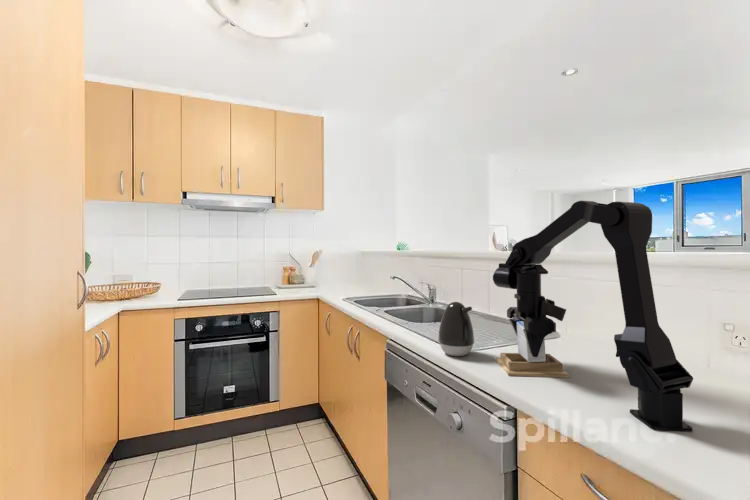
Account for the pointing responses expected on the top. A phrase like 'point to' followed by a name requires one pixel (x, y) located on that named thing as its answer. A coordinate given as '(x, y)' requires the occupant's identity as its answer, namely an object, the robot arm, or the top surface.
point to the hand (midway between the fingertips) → (529, 352)
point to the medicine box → (524, 347)
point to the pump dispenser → (456, 330)
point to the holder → (531, 366)
